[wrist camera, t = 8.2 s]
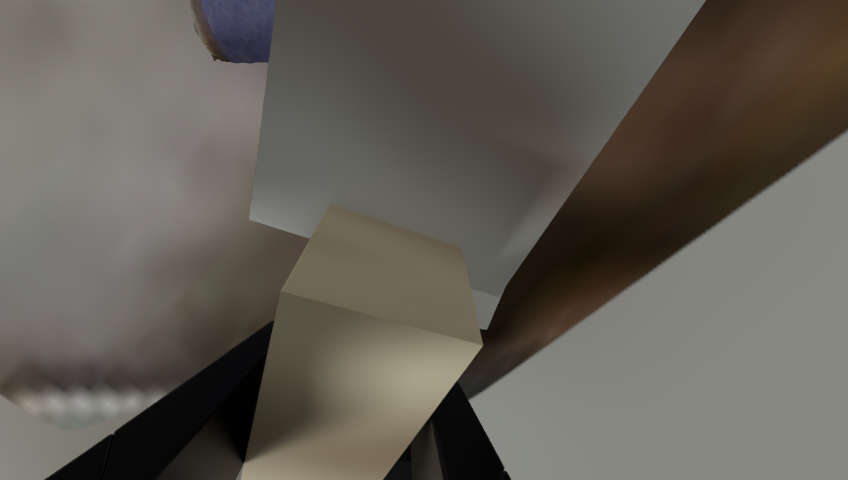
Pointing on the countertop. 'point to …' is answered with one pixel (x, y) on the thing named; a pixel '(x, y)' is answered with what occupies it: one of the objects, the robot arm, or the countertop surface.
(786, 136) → the countertop surface
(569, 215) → the countertop surface
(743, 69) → the countertop surface
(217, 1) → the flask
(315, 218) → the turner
